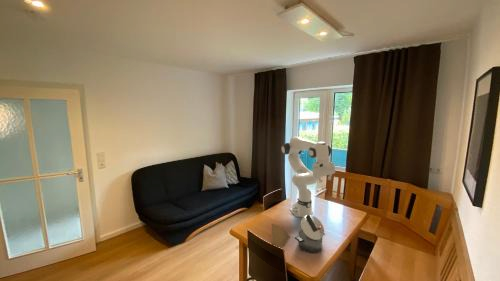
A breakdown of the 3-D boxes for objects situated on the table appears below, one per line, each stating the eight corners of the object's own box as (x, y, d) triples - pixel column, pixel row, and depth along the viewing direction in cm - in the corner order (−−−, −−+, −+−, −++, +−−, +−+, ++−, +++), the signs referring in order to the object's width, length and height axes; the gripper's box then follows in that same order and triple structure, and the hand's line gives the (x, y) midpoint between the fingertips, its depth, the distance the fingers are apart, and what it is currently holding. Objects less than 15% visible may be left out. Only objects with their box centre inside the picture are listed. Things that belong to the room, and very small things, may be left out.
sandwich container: (290, 236, 158) (291, 217, 156) (282, 247, 145) (282, 227, 144) (280, 233, 163) (280, 215, 161) (271, 243, 150) (271, 223, 148)
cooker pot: (290, 243, 149) (290, 232, 148) (314, 236, 158) (314, 225, 157) (305, 257, 135) (305, 244, 134) (330, 248, 144) (330, 236, 143)
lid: (296, 218, 145) (298, 216, 143) (315, 213, 152) (316, 212, 150) (308, 244, 134) (310, 242, 133) (328, 237, 141) (330, 235, 140)
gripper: (329, 160, 167) (331, 178, 167) (310, 165, 157) (312, 183, 158) (336, 161, 161) (338, 179, 162) (316, 165, 152) (318, 184, 152)
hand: (325, 181), depth 160 cm, fingers open, 8 cm apart
